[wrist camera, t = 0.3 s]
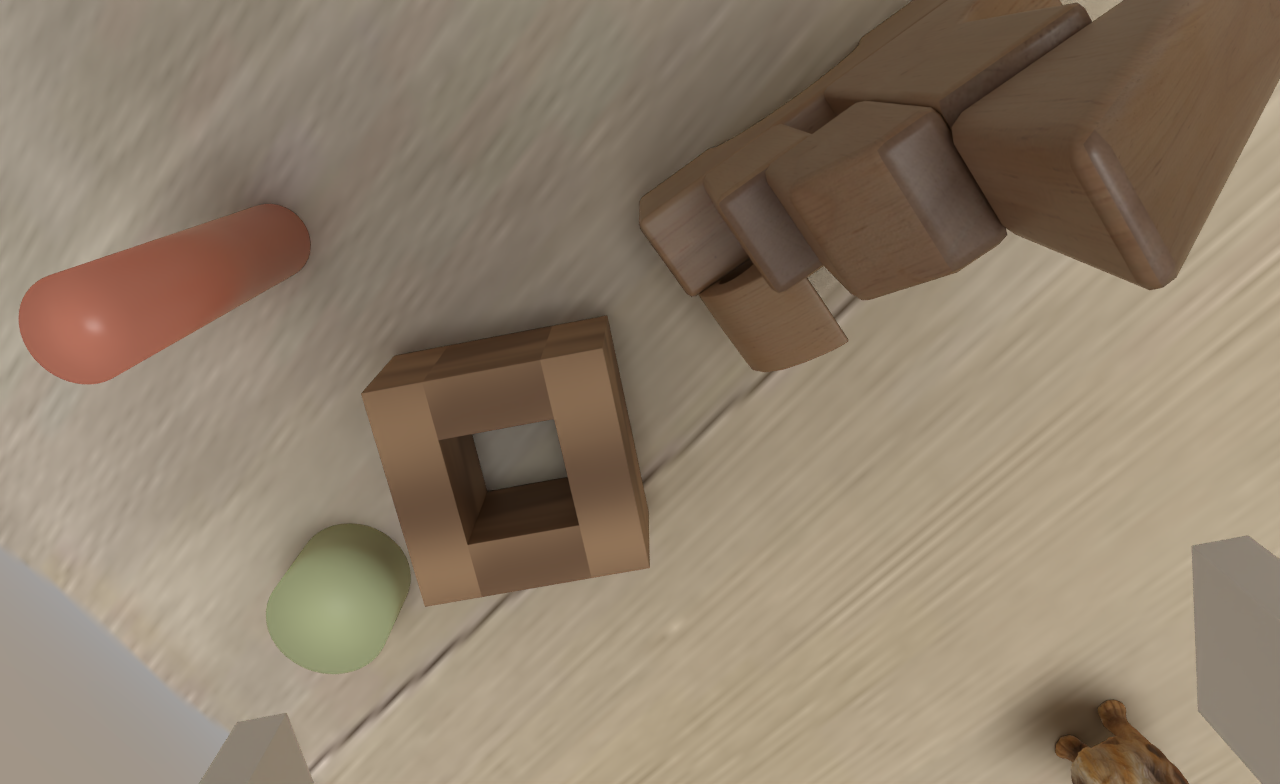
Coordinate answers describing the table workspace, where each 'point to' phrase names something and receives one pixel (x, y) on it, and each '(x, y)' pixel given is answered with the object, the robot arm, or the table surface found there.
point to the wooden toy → (970, 158)
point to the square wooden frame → (523, 515)
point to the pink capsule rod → (157, 292)
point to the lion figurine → (1118, 755)
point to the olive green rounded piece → (339, 599)
